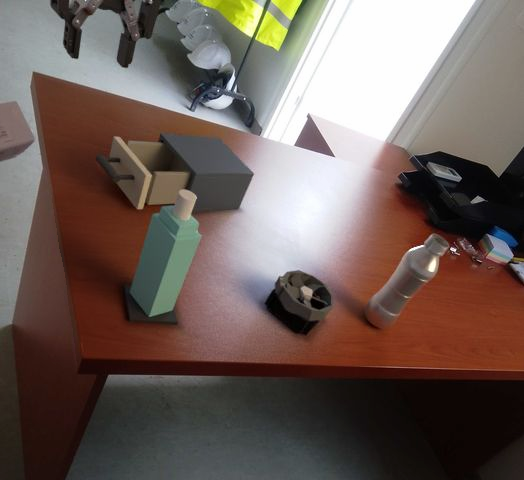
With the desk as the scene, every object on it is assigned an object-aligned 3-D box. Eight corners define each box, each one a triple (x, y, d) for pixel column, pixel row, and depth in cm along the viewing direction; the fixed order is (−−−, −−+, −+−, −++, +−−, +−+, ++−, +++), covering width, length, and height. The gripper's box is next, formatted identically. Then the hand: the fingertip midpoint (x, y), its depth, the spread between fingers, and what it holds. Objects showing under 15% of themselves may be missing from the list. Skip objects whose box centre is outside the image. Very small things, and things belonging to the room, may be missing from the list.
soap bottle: (148, 317, 65) (186, 209, 53) (129, 292, 67) (161, 182, 55) (172, 310, 68) (213, 206, 56) (153, 287, 70) (189, 181, 57)
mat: (128, 321, 64) (129, 318, 64) (123, 286, 68) (124, 283, 68) (176, 324, 67) (178, 322, 67) (169, 291, 71) (170, 289, 71)
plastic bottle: (371, 333, 87) (440, 252, 74) (354, 307, 91) (417, 226, 77) (394, 332, 91) (463, 255, 78) (376, 307, 94) (440, 229, 81)
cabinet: (182, 213, 87) (196, 173, 82) (149, 173, 92) (160, 133, 86) (238, 209, 97) (254, 173, 91) (206, 173, 101) (219, 137, 96)
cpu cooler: (343, 296, 81) (320, 320, 73) (327, 318, 85) (304, 342, 77) (297, 261, 82) (270, 281, 74) (283, 284, 86) (257, 305, 78)
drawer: (115, 210, 78) (123, 175, 73) (85, 170, 82) (91, 134, 77) (197, 206, 89) (209, 175, 85) (167, 171, 93) (177, 140, 89)
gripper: (75, -105, 46) (58, 66, 57) (189, -56, 56) (156, 82, 67) (43, -132, 49) (33, 36, 60) (158, -82, 58) (130, 56, 69)
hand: (98, 60), depth 63 cm, fingers open, 7 cm apart
